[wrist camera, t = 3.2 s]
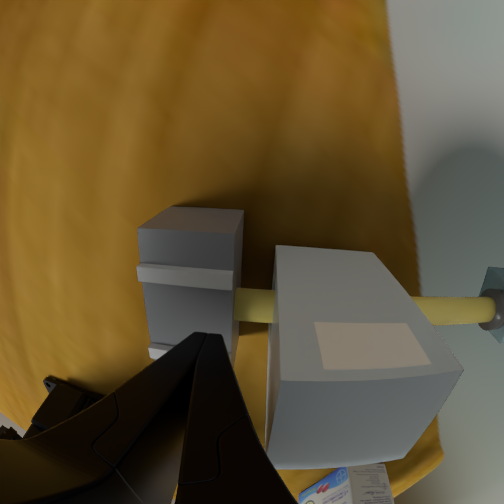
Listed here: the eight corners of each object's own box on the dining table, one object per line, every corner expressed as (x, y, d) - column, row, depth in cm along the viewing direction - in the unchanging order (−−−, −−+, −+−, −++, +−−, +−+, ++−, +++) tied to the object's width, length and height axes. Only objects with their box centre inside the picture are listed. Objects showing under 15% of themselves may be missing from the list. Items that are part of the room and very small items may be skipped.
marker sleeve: (355, 326, 12) (402, 458, 6) (268, 323, 13) (263, 468, 6) (373, 252, 11) (464, 369, 4) (275, 244, 11) (280, 379, 5)
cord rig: (494, 333, 13) (522, 365, 10) (177, 329, 14) (154, 378, 10) (526, 243, 11) (565, 266, 7) (170, 206, 11) (133, 230, 8)
